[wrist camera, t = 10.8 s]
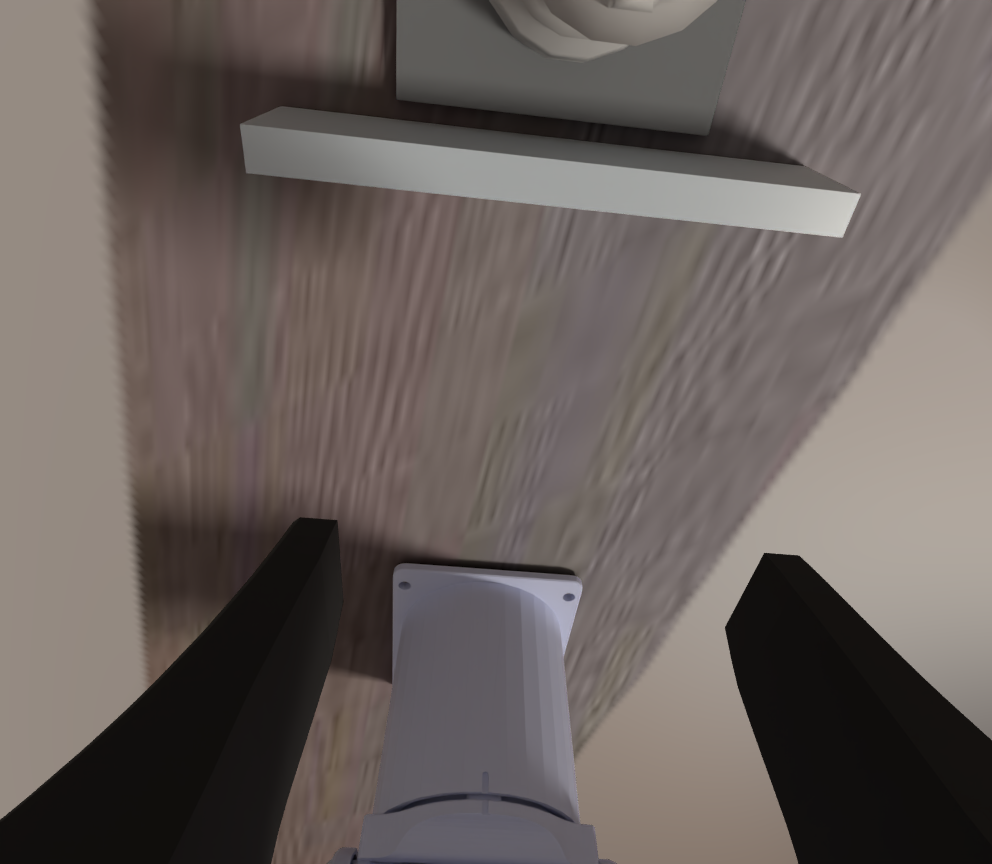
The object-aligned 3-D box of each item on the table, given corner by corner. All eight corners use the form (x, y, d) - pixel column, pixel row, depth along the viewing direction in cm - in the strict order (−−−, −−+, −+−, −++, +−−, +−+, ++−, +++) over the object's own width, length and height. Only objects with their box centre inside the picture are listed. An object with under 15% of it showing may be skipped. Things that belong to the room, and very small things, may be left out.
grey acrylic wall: (791, 204, 17) (842, 237, 14) (285, 148, 16) (246, 173, 13) (805, 166, 16) (861, 193, 14) (281, 105, 15) (239, 123, 13)
